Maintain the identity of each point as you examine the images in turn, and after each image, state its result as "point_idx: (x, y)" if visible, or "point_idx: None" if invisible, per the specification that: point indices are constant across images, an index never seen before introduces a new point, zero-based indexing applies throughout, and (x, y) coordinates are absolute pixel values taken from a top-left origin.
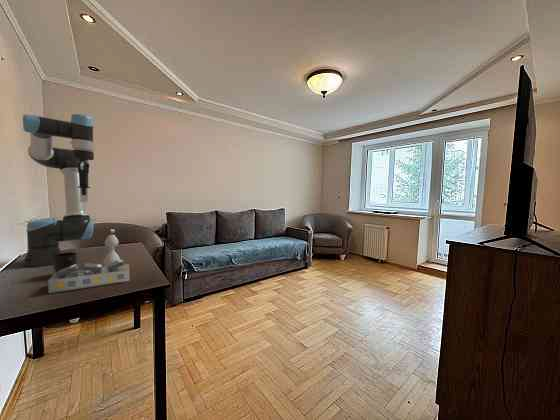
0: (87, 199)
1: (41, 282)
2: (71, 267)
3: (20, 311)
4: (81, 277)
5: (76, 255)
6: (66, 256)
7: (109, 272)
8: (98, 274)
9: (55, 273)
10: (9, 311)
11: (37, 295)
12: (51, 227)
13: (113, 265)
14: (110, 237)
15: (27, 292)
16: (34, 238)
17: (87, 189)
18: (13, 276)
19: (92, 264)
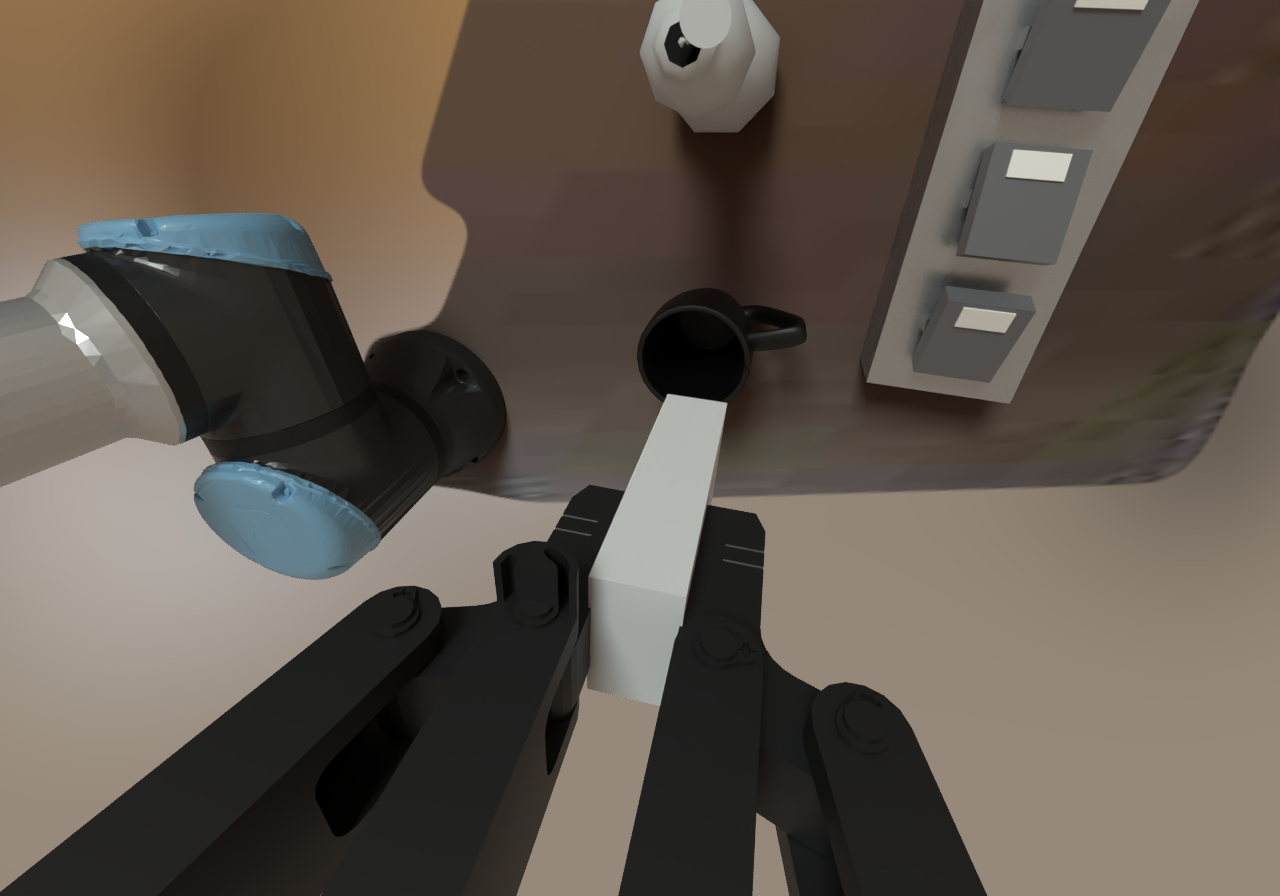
0: (720, 435)
1: (782, 402)
2: (1008, 327)
3: (1144, 449)
4: (1071, 265)
5: (699, 300)
6: (749, 353)
7: (1149, 94)
8: (1118, 170)
9: (885, 378)
10: (1102, 475)
11: (977, 409)
12: (343, 472)
13: (1136, 58)
14: (719, 58)
15: (897, 438)
16: (410, 502)
17: (687, 574)
18: (620, 480)
19: (1001, 211)
